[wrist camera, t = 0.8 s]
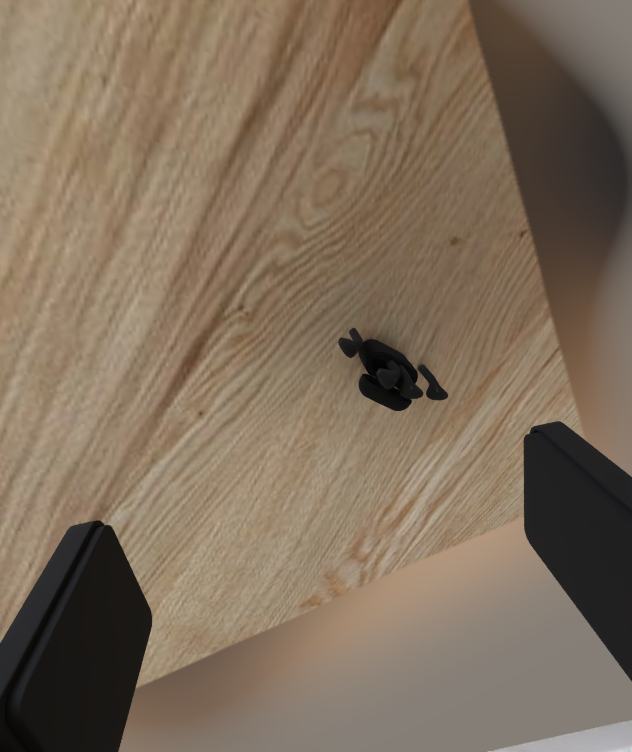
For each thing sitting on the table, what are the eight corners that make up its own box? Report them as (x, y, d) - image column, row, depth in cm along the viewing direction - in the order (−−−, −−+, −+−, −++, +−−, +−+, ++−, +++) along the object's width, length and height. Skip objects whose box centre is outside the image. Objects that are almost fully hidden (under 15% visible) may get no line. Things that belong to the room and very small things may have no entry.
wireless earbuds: (433, 367, 28) (466, 402, 23) (411, 400, 29) (438, 440, 24) (337, 316, 26) (351, 343, 22) (316, 352, 27) (325, 386, 22)
